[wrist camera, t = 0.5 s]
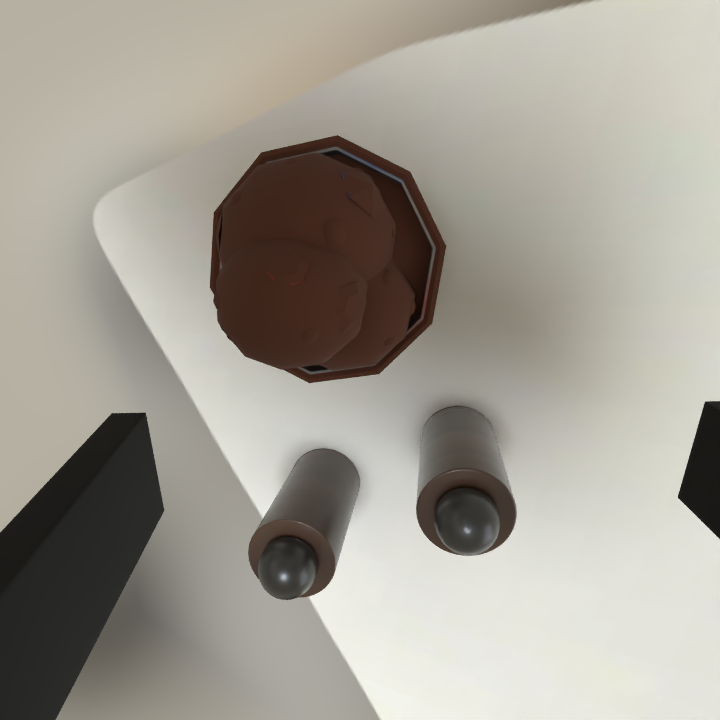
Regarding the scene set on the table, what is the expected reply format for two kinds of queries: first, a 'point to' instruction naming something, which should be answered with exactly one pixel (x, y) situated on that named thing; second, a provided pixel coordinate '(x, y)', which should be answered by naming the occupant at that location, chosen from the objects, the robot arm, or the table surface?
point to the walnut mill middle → (463, 484)
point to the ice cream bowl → (325, 261)
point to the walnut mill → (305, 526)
